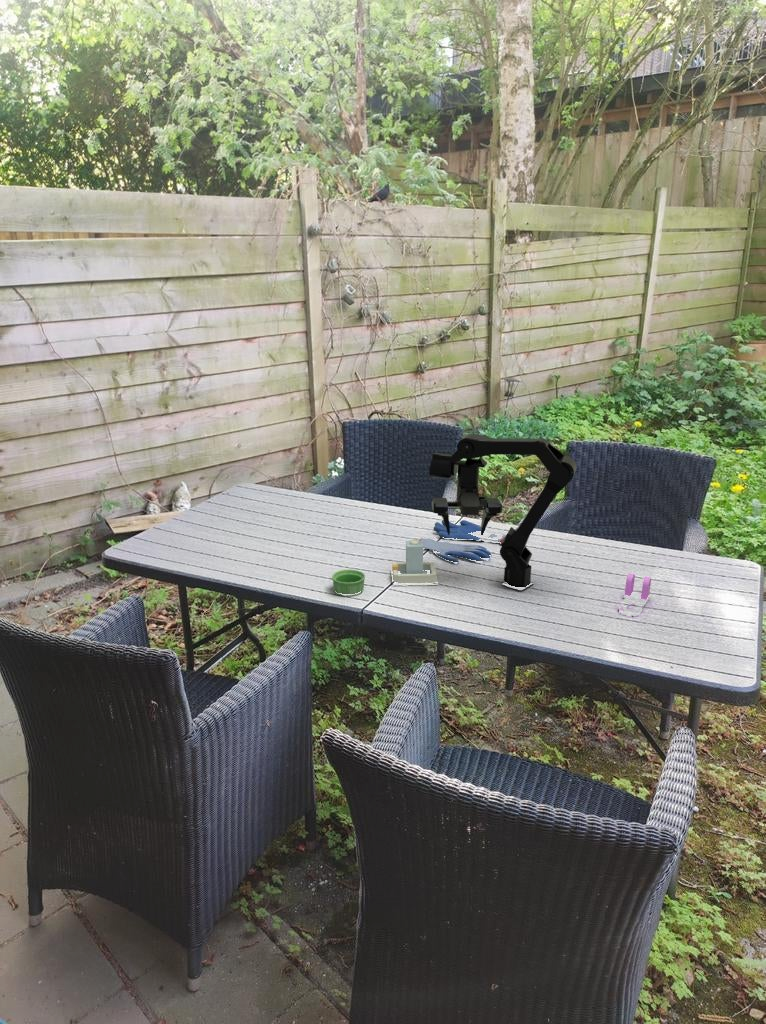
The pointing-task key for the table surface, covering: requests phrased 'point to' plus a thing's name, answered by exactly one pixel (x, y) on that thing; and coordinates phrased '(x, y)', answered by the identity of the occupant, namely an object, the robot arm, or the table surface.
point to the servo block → (414, 557)
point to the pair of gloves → (457, 549)
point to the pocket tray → (414, 577)
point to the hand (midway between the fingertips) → (465, 534)
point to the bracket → (631, 584)
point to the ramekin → (348, 581)
